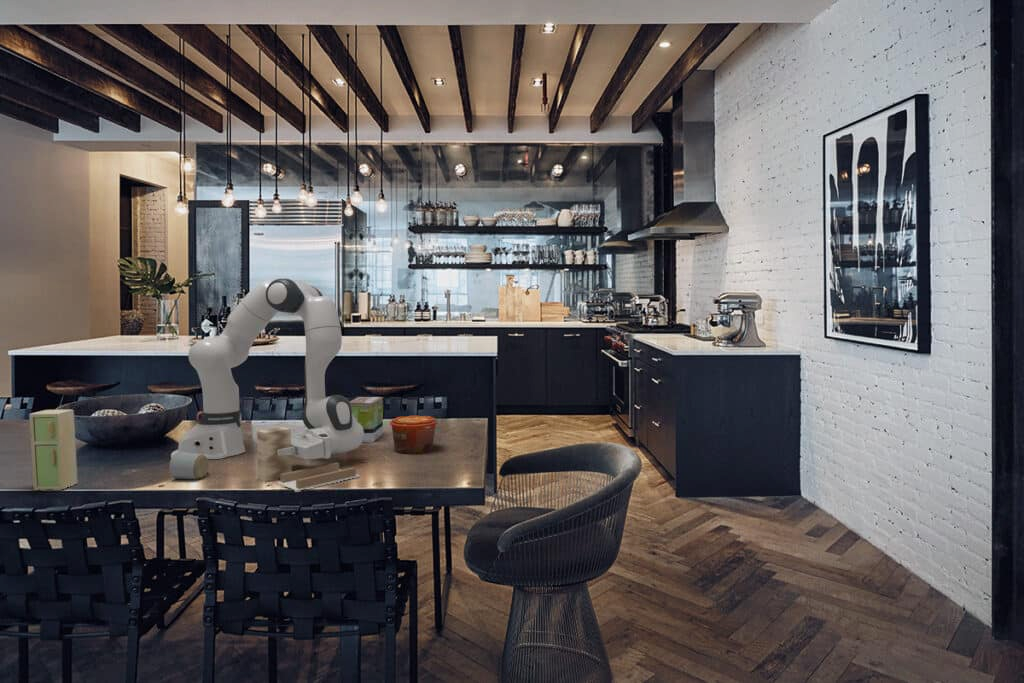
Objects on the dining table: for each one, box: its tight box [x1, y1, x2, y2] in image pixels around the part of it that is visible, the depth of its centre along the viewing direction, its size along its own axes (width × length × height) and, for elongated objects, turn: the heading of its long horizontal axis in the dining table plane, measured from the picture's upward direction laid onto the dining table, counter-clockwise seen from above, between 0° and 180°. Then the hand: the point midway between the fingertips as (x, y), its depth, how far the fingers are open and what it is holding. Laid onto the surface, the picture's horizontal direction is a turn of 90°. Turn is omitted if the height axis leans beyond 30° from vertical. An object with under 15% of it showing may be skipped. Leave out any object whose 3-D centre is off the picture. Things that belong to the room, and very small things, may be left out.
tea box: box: [349, 396, 384, 443], centre depth 245 cm, size 15×10×15 cm
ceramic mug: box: [168, 452, 210, 480], centre depth 192 cm, size 11×8×8 cm
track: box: [275, 462, 361, 493], centre depth 188 cm, size 20×11×3 cm, turn 137°
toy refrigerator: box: [28, 409, 78, 491], centre depth 180 cm, size 8×7×21 cm
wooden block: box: [256, 426, 293, 482], centre depth 191 cm, size 8×4×14 cm, turn 138°
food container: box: [389, 415, 438, 455], centre depth 227 cm, size 16×16×11 cm
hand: (271, 450), depth 190 cm, fingers closed on wooden block, 4 cm apart
